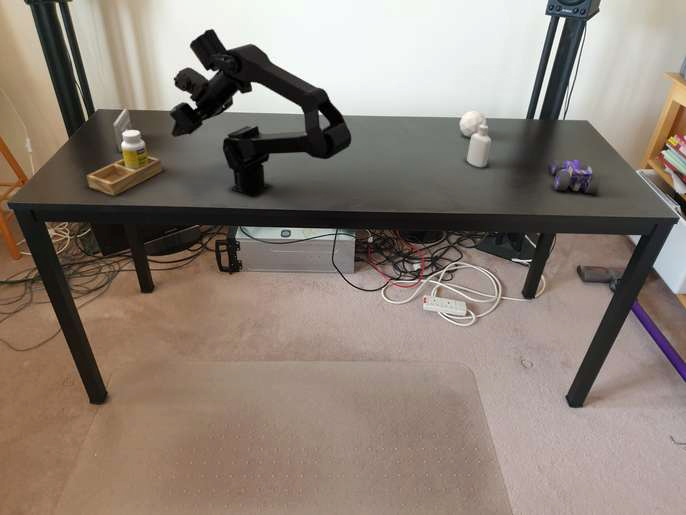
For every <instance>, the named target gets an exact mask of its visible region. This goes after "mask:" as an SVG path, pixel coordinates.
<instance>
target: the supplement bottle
mask: <svg viewBox="0 0 686 515" xmlns="http://www.w3.org/2000/svg"><path fill="white" fill-rule="evenodd" d="M122 135H123V140H124V141H123V142H122V145H121V146H122V151H123V152H122V157H123V158H124V161H125V166H126V167H127V168H130V169H133V170H137V169H139V168H141V167H143V166H145V165H148V164H149V163H148V157H147V156H148V152H147V147H146V146H147V145H146V142H145V141H144V140H143V139H142V135H141V132H140V131H139V130H136V129H132V130H128V131H125V132H123V133H122Z"/></svg>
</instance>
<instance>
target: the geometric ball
mask: <svg viewBox="0 0 686 515" xmlns="http://www.w3.org/2000/svg"><path fill="white" fill-rule="evenodd" d="M483 121H486V122H487V118H486V117H485V115H484V114H483V113H482V112H480V111H477V110H471V111H467V112H466V113H465V114H464V115H463V116H461V119H460V121H459V129H460V132H461V133H462V135H463V136H464V137H467V138H470V139H471V137H472V135H473V134H475V133H478V129H479V126H480V125H482V124H483Z"/></svg>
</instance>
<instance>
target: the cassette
mask: <svg viewBox="0 0 686 515" xmlns="http://www.w3.org/2000/svg"><path fill="white" fill-rule="evenodd" d="M121 111H122V112H120V114H119V116H118V117H117V118H116V119H115V121H114V122H113V129H114V135H115V138H116V143H117V148H118V152H121V153H123V151H122V146H121V145H122V142H123V141H124V140H123V135H122V133H123V132H125V131H128V130H133V126H132V122H131V117H130V112H129V108H123V110H121Z"/></svg>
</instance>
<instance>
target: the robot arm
mask: <svg viewBox="0 0 686 515" xmlns="http://www.w3.org/2000/svg"><path fill="white" fill-rule="evenodd" d="M189 48H190V49H191V51H192V52H193V54H194V55H195V57H196V59H197V60H198V61H199V62H200V64H201V65H202V67H203V68H204V69H205V71H206V72H208V71H212V72H213V73H214V72H215V74H214V75H213V76H212V77H211V78H210V79H208V78H206V77H205V76H204V75H203V74H202V73H200V72H199V71H197V70H195V69H193V68H192V67H185V68H183V69H181V70H178V73H176V75H175V77H173V81H174V86H175V87H176V88H177V89H179V90H180V91H182V92H186V93H188V94H190V96H189V99H190V100H191V101H192V102H195V106H196V108H193V107H192V106H191V105H190V104H189V102H180V103H178V104H176V105H175V106H173V108H172V109H170V111H169V116H170V117H171V118H172V119H173V121H174V124H173V128H172V131H171V132H170V133H171V136H173V138H178V137H182V136H185V135H192V134H193V133H195V132H196V131H198V130H199V129H200V128H202V126H203V122H204V121H206V120H209V119H211V118H214V117H217V116H220V115H222V114H223V113H224V112H226V111H227V110H229V109H230V108H231V107H232V106H233V105H234V96H235V95H236V94H237V93H238V92H240V94H241V95H244V94H248V93H251V92H253V85H252V83H255V84H259V85H261V86H263V87H265V88H267V89H268V90H270V91H272V92H274V93H276V95H279V96H281V97H283V98H284V99H285V100H288V101H289V102H291V103H293V104H295V105H296V106H298V107H300V108H301V111H302V113H303V116H304V129H305V130H303V131H302V130H301V131H288V132H276V133H275V132H274V133H262V132H260V130H259V129H260V128H259V126H258V125H255V126H249V125H246V126H244V127H241V128H239V129H237V130H235V131H232V132H230V133H228V134H227V137H225V138H224V139H223V143H222V152H223V155H224V157H225V160H226V163H227V166H228V168H229V169H230V170H232V171H233V178H234V181H233V182H234V185H233V186H232V187H231V190H232V191H234V192H236V193H237V192H238V193H240V194H244V195H246V196H250V197H255V196H257V195H259V194H260V193H261V192H262V191H264V190H265V189H267V188H268V187H269V183H267V182H265V168H264V164H265V163H267V162H269V159H270V155H272V154H273V155H274V154H275V155H276V154H299V153H306V154H307V155H309V156H310V157H311V158H315V159H321V160H328V159H330V158H331V159H332V157H334V156H336V155H337V154H339V153H341V152H343V151H344V150H346V149H347V148H349V147H350V145H351V144H352V134H351V133H352V132H351V130H350V129H349V128H348V126H347V122H346V121H345V118H344V116H343V114H342V113H341V111H339V109H338V108H337V107H336V106H335V105H334V104H333V102H332V101H331V99H330V97H329V95H328V92H327V91H326V90H325V89H324V88H321V87H317V86H315V85H313V84H311V83H309V82H308V81H306V80H304V79H302V78H300V77H298V76H297V75H295V74H293V73H291V72H289V71H287V70H286V69H284V68H282V67H280V66H278V65H276V64H275V63H274V62H272V61H271V59H270V57H269V56H268V54H267V53H266V52H264V51H263V50H262V49H261V48H259V46H257V45H256V44H253V43H247V44H243V45H241V46H237V47H233V48H230V49H227V48H226V47H225V45H224V44H223V42H222V41H221V40H220V38H219V36H218V34H217V32H216V31H215V30H214V29H213V28H209V29H205V31H204V32H203V33H202V34H199V35H198V36H197V37H196V38H195V39H193V40H192V41H191V42H190V44H189ZM320 114H321V115H322V116H323V117H324V118H325V119H326V120H327V121H328V124H325V125H322V126H321V125H320V124H321V123H320Z"/></svg>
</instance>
